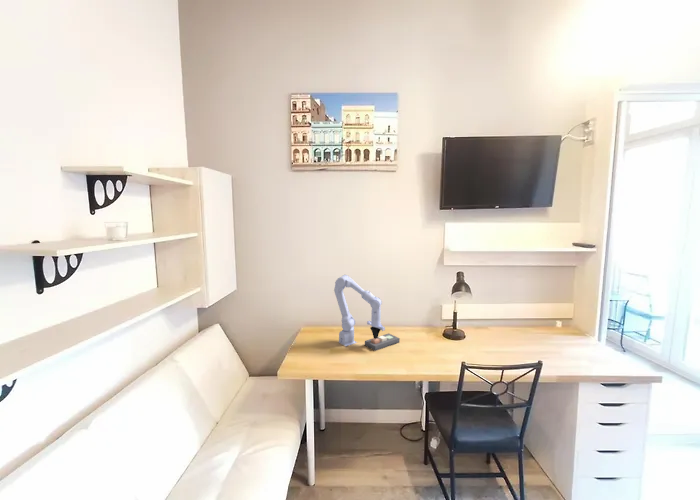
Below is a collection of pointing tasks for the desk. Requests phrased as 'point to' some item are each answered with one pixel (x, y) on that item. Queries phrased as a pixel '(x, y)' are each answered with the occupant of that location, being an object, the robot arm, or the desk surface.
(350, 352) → the desk surface
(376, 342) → the terracotta key
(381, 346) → the keypad
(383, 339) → the cream key
